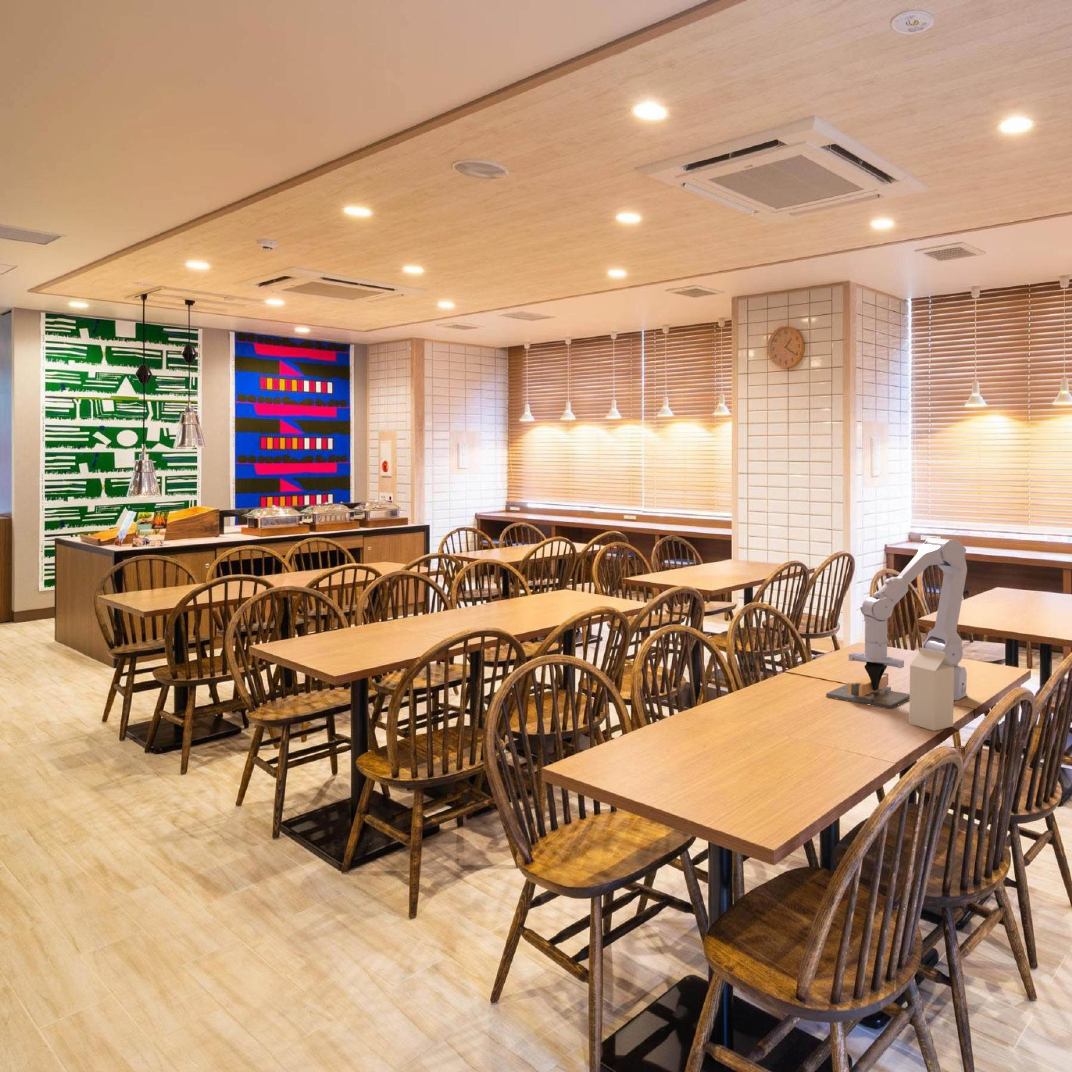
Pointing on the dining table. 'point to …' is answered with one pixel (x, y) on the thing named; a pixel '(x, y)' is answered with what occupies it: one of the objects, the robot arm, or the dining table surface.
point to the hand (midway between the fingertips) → (875, 689)
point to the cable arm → (865, 685)
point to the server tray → (872, 697)
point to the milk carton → (931, 690)
